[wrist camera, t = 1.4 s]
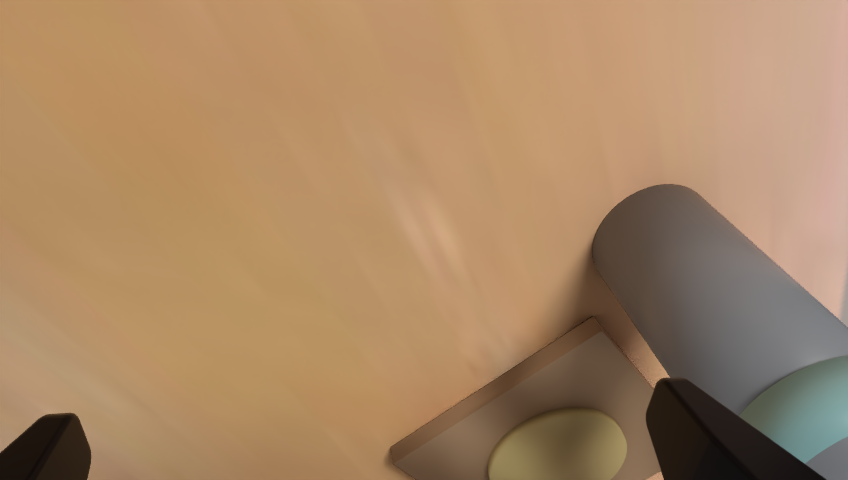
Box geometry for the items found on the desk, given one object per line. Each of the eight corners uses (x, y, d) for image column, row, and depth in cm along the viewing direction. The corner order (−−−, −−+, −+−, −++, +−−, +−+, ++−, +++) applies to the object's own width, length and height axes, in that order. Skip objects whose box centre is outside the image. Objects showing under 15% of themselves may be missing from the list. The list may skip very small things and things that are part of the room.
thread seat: (515, 534, 37) (523, 560, 35) (390, 447, 30) (394, 474, 29) (690, 433, 34) (706, 457, 33) (593, 316, 28) (607, 339, 26)
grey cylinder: (623, 308, 28) (810, 582, 18) (567, 236, 25) (750, 511, 15) (729, 240, 27) (997, 491, 16) (682, 156, 24) (970, 395, 14)
